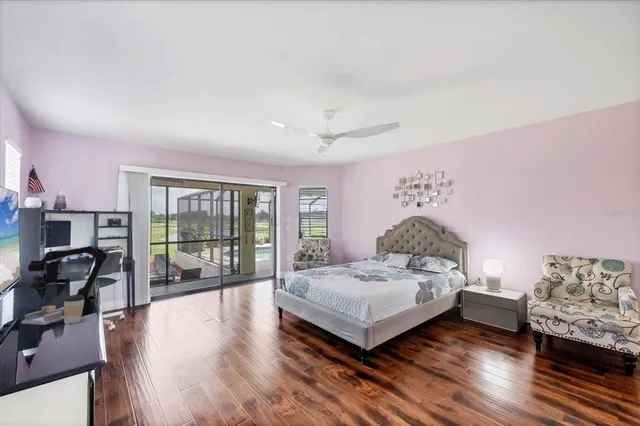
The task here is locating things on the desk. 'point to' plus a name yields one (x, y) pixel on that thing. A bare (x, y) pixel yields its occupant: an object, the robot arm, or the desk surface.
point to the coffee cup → (73, 308)
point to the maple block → (48, 309)
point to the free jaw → (34, 315)
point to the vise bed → (45, 319)
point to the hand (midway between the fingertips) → (50, 297)
